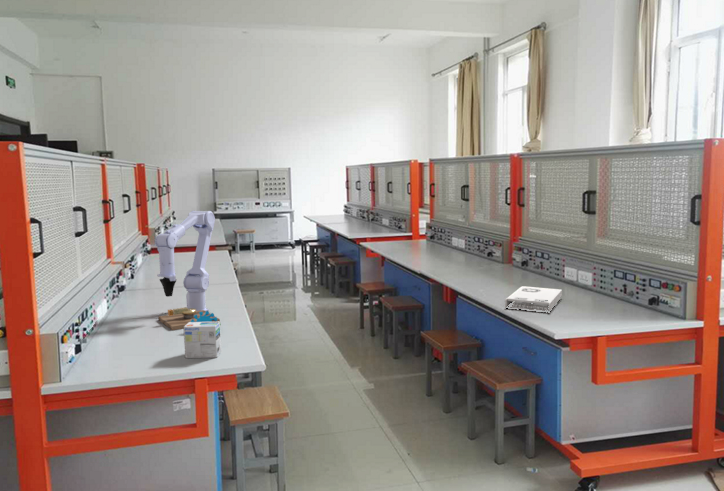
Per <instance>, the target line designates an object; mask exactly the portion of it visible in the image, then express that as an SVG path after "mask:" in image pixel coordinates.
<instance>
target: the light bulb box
mask: <svg viewBox="0 0 724 491" xmlns="http://www.w3.org/2000/svg"><path fill="white" fill-rule="evenodd" d="M220 324H221V321H217V322H189V323H187V324H186V325H185V326H184V329H183V341H184V343H183V344H184V358H185V359H199V358H200V359H203V358H204V359H205V358H206V359H207V358H209V359H210V358H211V359H212V358H213V359H214V358H218V357H219V355H220V354H221V352H222V339H221V325H220Z"/></svg>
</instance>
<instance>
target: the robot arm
mask: <svg viewBox="0 0 724 491" xmlns="http://www.w3.org/2000/svg"><path fill="white" fill-rule="evenodd" d="M215 217H216V216H215V215H214V213H213V211H211V210H205V211H204V210H192V211H190V212H188V214H187V217H186V218H185V219H184V220H183V221H182V222H180V223H179V224H178V223H174V224H173V225H172V226H171V227H170V228H169V229H167V230H165V232H163V233H159V234H158V235H156V238H155V241H154V244H155V246H156V247H157V251H158V256H159V273H157V277H161V278H160V279H159V282H160V283H161V286H162V289H163V291H164V295H165V297H167V298H168V297H173V295H174V294H173V293H174V288H175V284H176V282H177V279H176V266H175V265H176V263H175V247H176V246H177V243H178V242H179V240H180V239H181V238H183V237H184V236H185V235H186V231H188V230H189V229H191V228H192V227H193V228H194V230H195V231H197V232H198V237H197V244H196V249H195V253H194V258H193V262H192V267H191V268H190V269H188V270H187V271H186V275H185V277H184V279H183V282H182V284H183V287H184V289H185V290H186V292H187V293H186V307H187V308H194V309H196V311H200V310H204V311H208V312H209V311H210V308H209V309H208V308H207V306H206V301H207V300H206V291H207V289H208V288H209V285H210V274H209V273H208V271H207V270H206V265H207V262H208V261H207V260H208V254H209V250H210V246H211V239H212V236H213V231H214V226H215V223H216V222H215V221H216V218H215Z"/></svg>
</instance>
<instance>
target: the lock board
mask: <svg viewBox="0 0 724 491" xmlns="http://www.w3.org/2000/svg"><path fill="white" fill-rule="evenodd" d="M199 312H203V315H202V316H204V315H205V312H206V311H204V310H200V311H196V313H194V314H189V315H184V314H178V315H174V314H173V315H171V316H169V315H168V314H167V315H161V316H158V317H157V318H158V321H159V322H160V323H162V324H163V325H164V326H165V327H167V328H168V329H170V330H171V331H176V330H184V326H185V325H186V324H187V323H189V322H191V320H192V319H193V320H194V321H195V322H196V321H197V320H196V319H195V318H194V315H197V316H198V317H197V318H200V314H199ZM210 314H211V313H210V312H209V314H208V315H206V316H209V315H210ZM215 317H216V316H215V315H214V317H210V318H215ZM217 321H220V318H219V317H217ZM217 321H214V320H212V322H217ZM220 322H221V321H220Z"/></svg>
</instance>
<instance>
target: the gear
mask: <svg viewBox="0 0 724 491" xmlns="http://www.w3.org/2000/svg"><path fill="white" fill-rule="evenodd" d="M209 313H210V312H209V311H206V312H205V315H204V316H202V315H203V312H199V314H200V318H197V317H198V316H197V315H194V318H195V319H196V320H197V321H196V322H212V320H214V321H217V318H218V317H217V316H215V314H214V313H213V312H211V313H210V315H209V316H206V315H208V314H209ZM214 316H215V318H210V317H214ZM191 322H195V321H194V320H193V319H192V320H191ZM220 326H221V323H220Z"/></svg>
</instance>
